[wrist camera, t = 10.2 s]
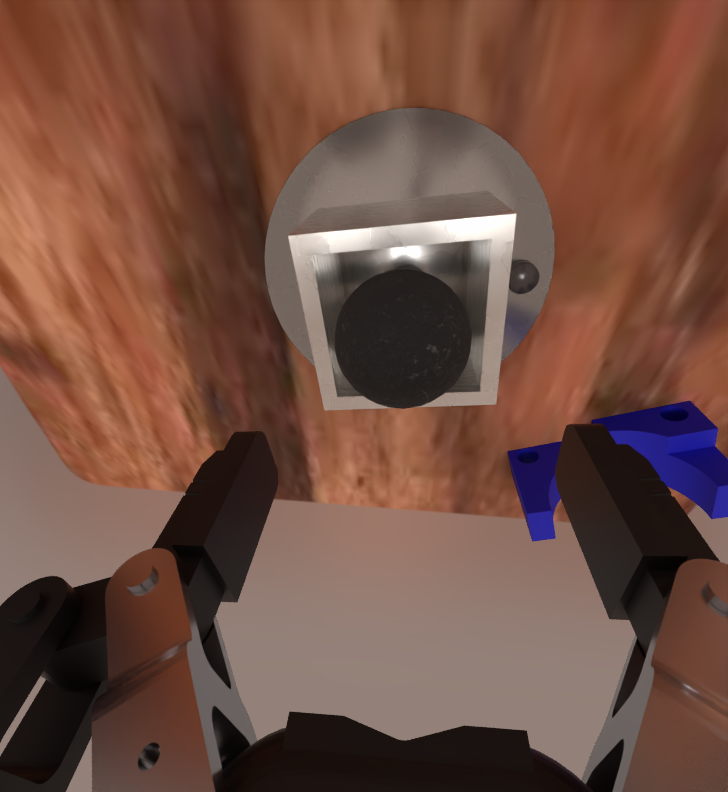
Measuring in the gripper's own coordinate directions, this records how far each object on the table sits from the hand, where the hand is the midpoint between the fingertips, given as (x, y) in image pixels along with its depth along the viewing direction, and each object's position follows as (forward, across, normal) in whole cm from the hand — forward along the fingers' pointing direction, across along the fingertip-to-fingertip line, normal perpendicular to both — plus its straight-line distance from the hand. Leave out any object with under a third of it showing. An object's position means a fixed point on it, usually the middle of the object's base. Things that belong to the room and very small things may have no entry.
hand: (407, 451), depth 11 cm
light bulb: (+14, 0, 0) cm, 14 cm away
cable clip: (+15, -13, +14) cm, 24 cm away
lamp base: (+15, 0, 0) cm, 15 cm away
